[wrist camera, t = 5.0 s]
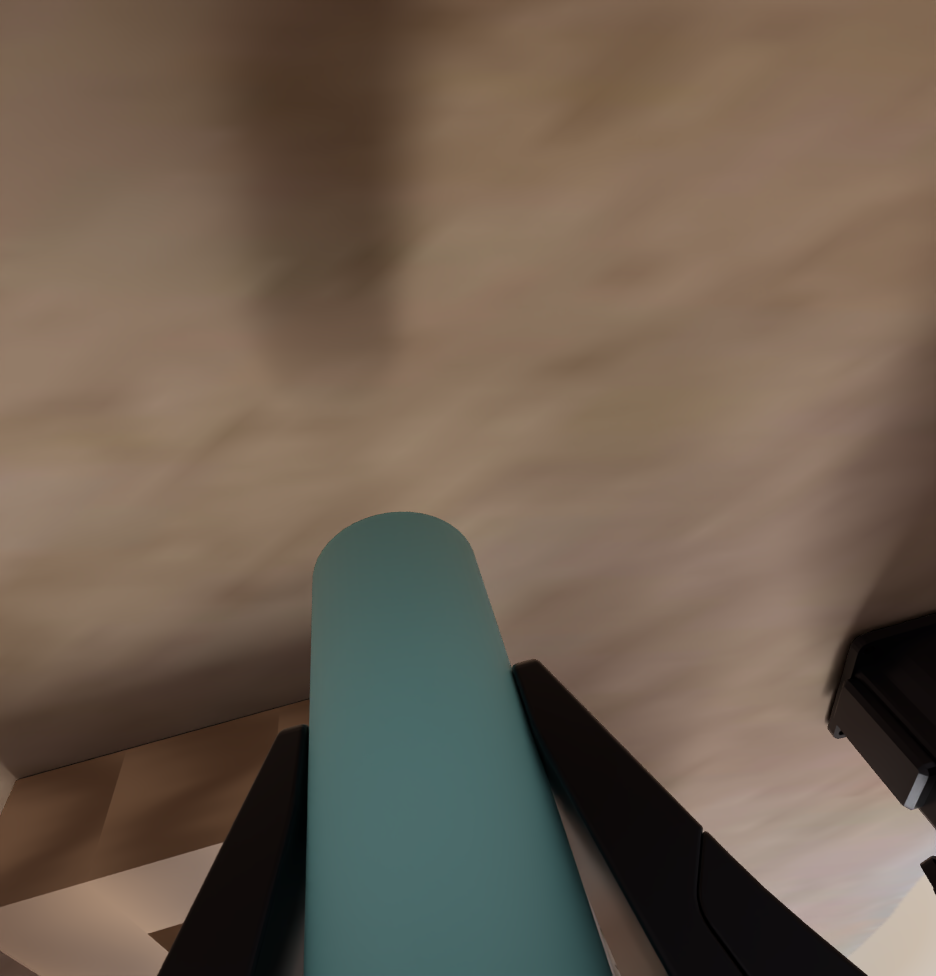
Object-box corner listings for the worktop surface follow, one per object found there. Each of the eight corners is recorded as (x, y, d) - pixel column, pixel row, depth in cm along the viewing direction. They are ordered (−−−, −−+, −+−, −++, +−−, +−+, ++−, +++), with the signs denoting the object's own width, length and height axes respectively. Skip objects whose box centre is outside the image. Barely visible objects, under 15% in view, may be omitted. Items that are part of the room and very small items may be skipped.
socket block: (383, 678, 20) (395, 792, 17) (450, 850, 27) (467, 955, 24) (15, 780, 19) (-48, 920, 16) (179, 930, 26) (158, 1051, 23)
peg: (460, 493, 11) (739, 1289, 4) (487, 614, 13) (708, 1313, 5) (288, 537, 11) (214, 1478, 3) (339, 654, 13) (363, 1438, 5)
